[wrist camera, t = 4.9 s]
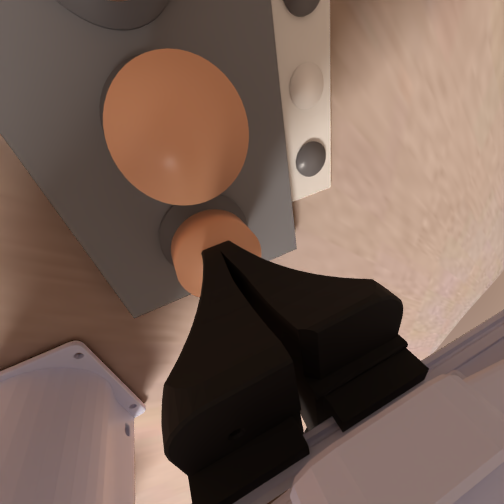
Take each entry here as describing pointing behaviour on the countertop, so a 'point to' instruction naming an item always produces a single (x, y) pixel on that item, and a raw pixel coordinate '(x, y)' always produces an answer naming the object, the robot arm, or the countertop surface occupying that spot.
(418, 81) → the countertop surface
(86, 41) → the board
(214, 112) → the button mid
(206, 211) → the button
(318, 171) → the card
